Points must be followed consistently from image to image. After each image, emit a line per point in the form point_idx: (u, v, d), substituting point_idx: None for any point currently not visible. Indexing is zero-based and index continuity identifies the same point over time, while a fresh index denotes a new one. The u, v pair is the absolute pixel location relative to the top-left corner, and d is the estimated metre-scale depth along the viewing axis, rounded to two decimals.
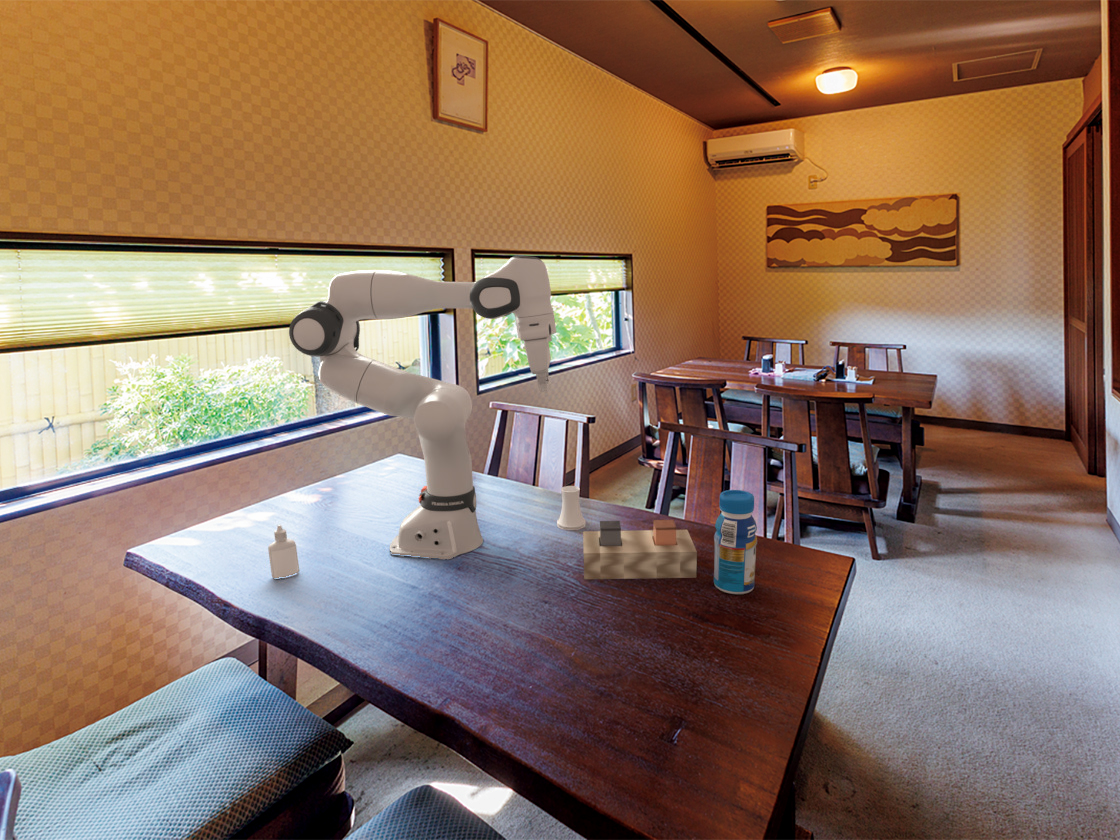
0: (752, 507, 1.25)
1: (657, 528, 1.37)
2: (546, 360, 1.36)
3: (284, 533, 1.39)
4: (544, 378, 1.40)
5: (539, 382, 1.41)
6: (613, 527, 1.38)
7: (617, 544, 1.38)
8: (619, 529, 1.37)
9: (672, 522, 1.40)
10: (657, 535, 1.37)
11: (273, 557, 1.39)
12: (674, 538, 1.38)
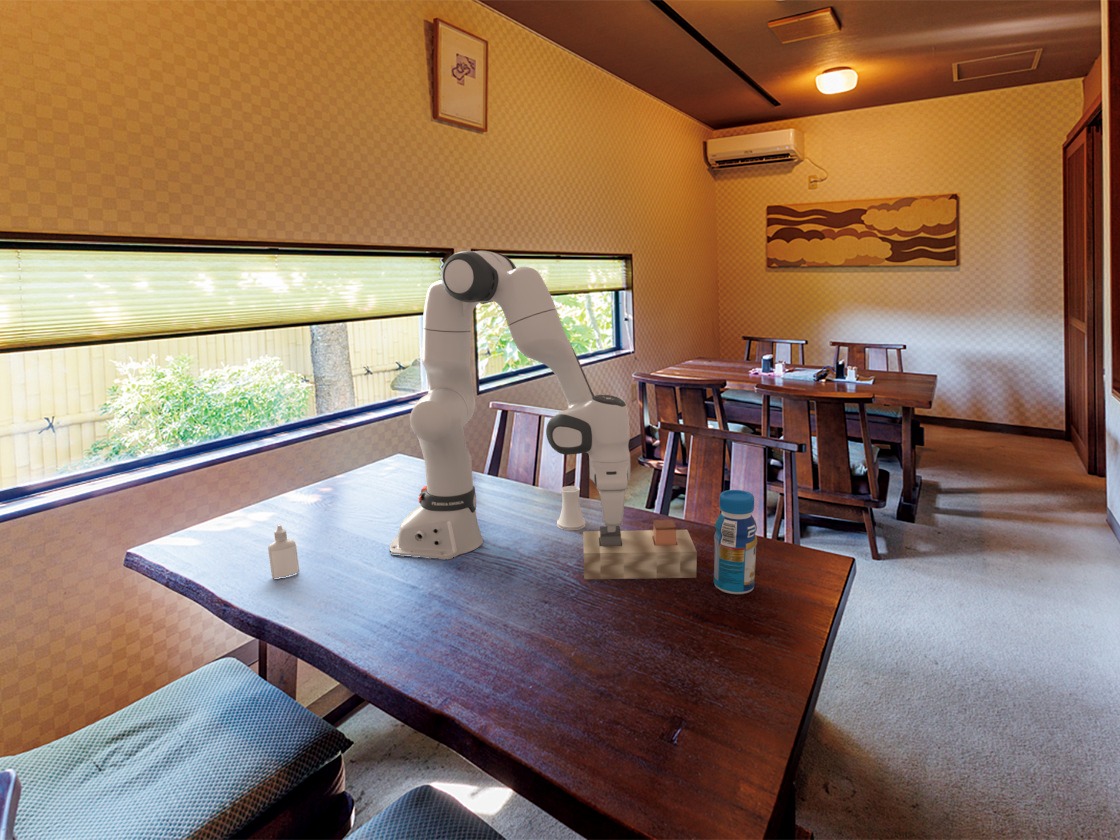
0: (752, 507, 1.25)
1: (657, 528, 1.37)
2: (622, 514, 1.29)
3: (284, 533, 1.39)
4: None
5: None
6: (613, 533, 1.38)
7: None
8: (619, 535, 1.38)
9: (672, 522, 1.40)
10: (657, 535, 1.37)
11: (273, 557, 1.39)
12: (674, 538, 1.38)
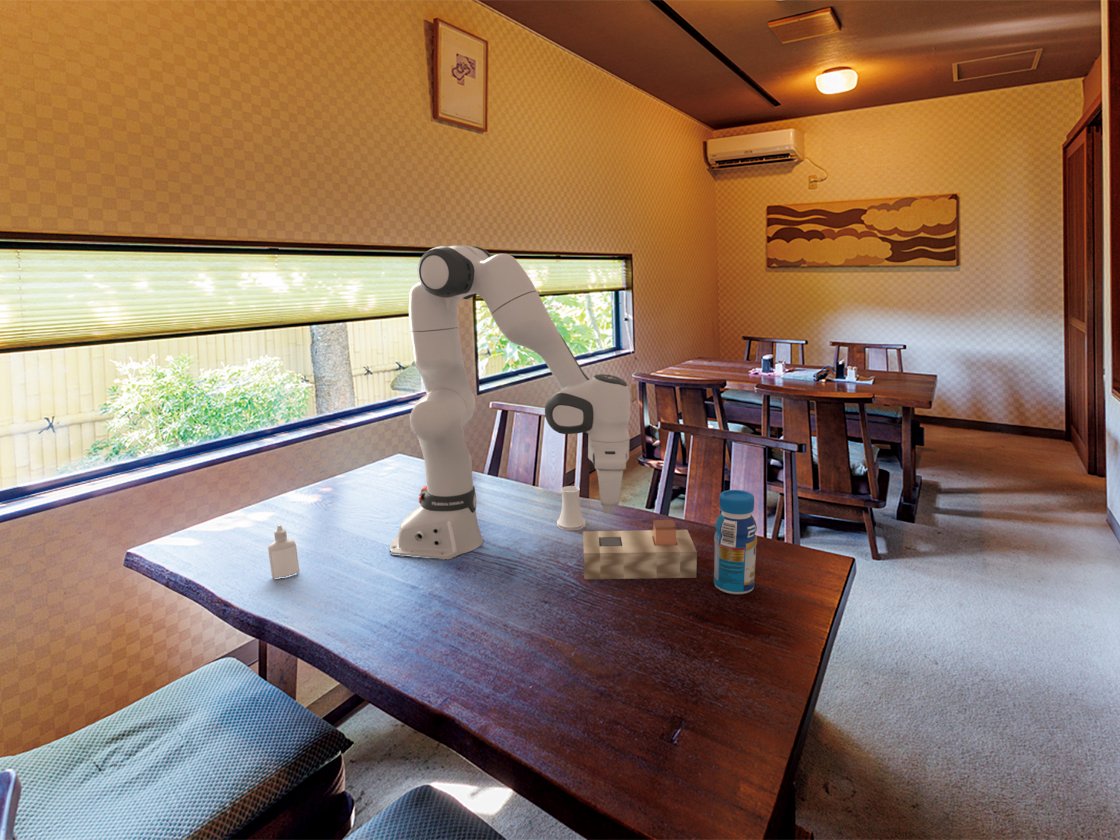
0: (752, 507, 1.25)
1: (657, 528, 1.37)
2: (619, 494, 1.28)
3: (284, 533, 1.39)
4: None
5: None
6: (613, 544, 1.39)
7: None
8: None
9: (672, 522, 1.40)
10: (657, 535, 1.37)
11: (273, 557, 1.39)
12: (674, 538, 1.38)
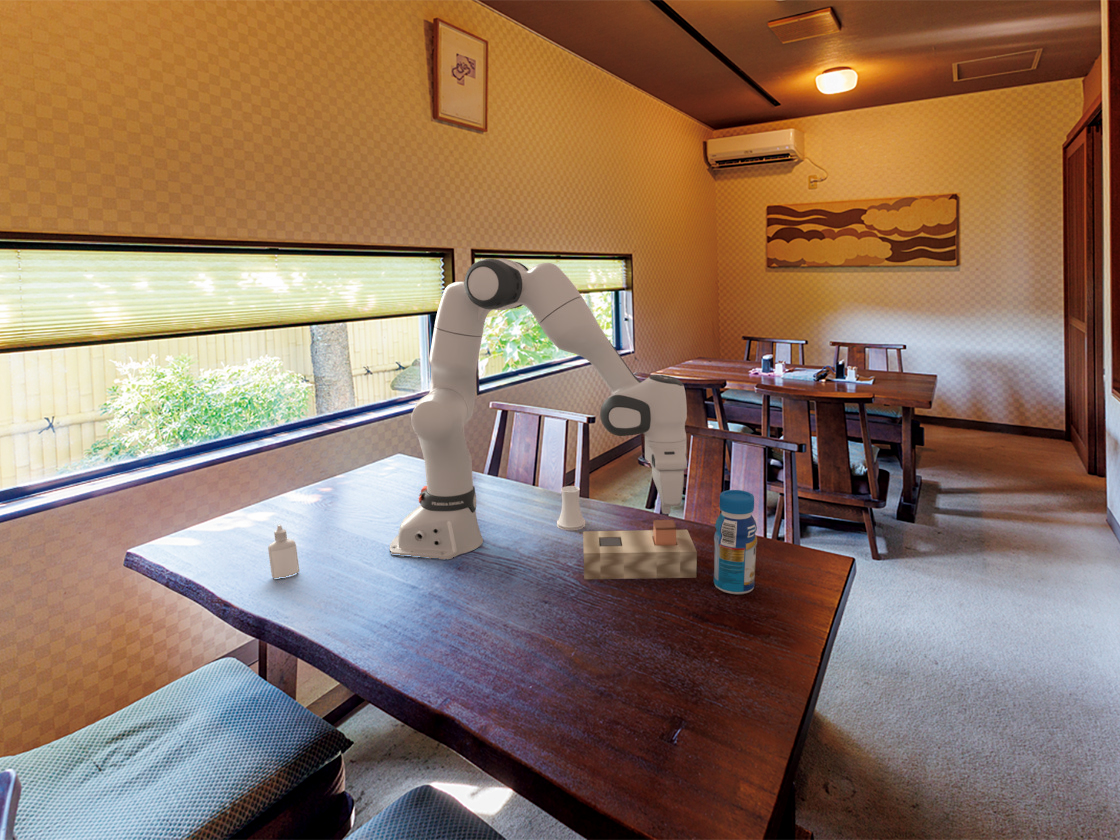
0: (752, 507, 1.25)
1: (657, 528, 1.37)
2: (681, 494, 1.27)
3: (284, 533, 1.39)
4: None
5: (663, 505, 1.36)
6: (613, 544, 1.39)
7: None
8: None
9: (672, 522, 1.40)
10: (657, 535, 1.37)
11: (273, 557, 1.39)
12: (674, 538, 1.38)
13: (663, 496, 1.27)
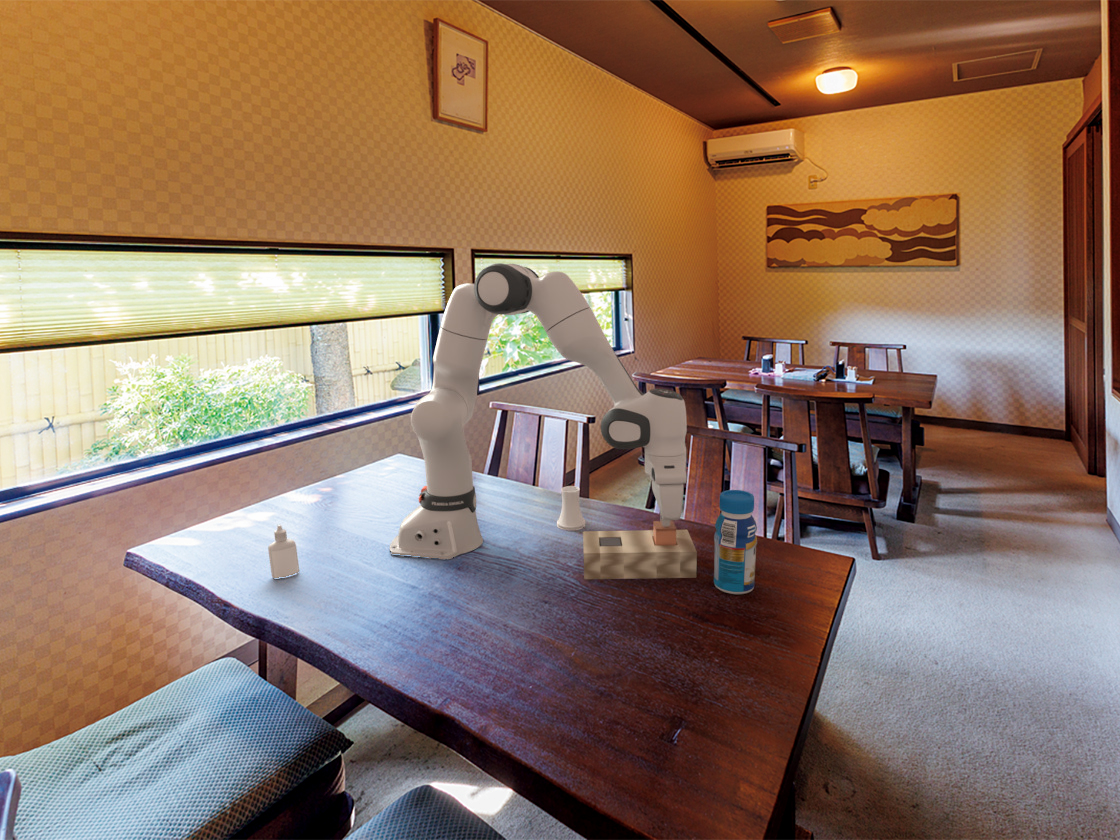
0: (752, 507, 1.25)
1: (657, 529, 1.37)
2: (681, 508, 1.28)
3: (284, 533, 1.39)
4: None
5: None
6: (613, 544, 1.39)
7: None
8: None
9: (672, 523, 1.40)
10: (657, 536, 1.38)
11: (273, 557, 1.39)
12: (674, 539, 1.38)
13: (663, 510, 1.28)
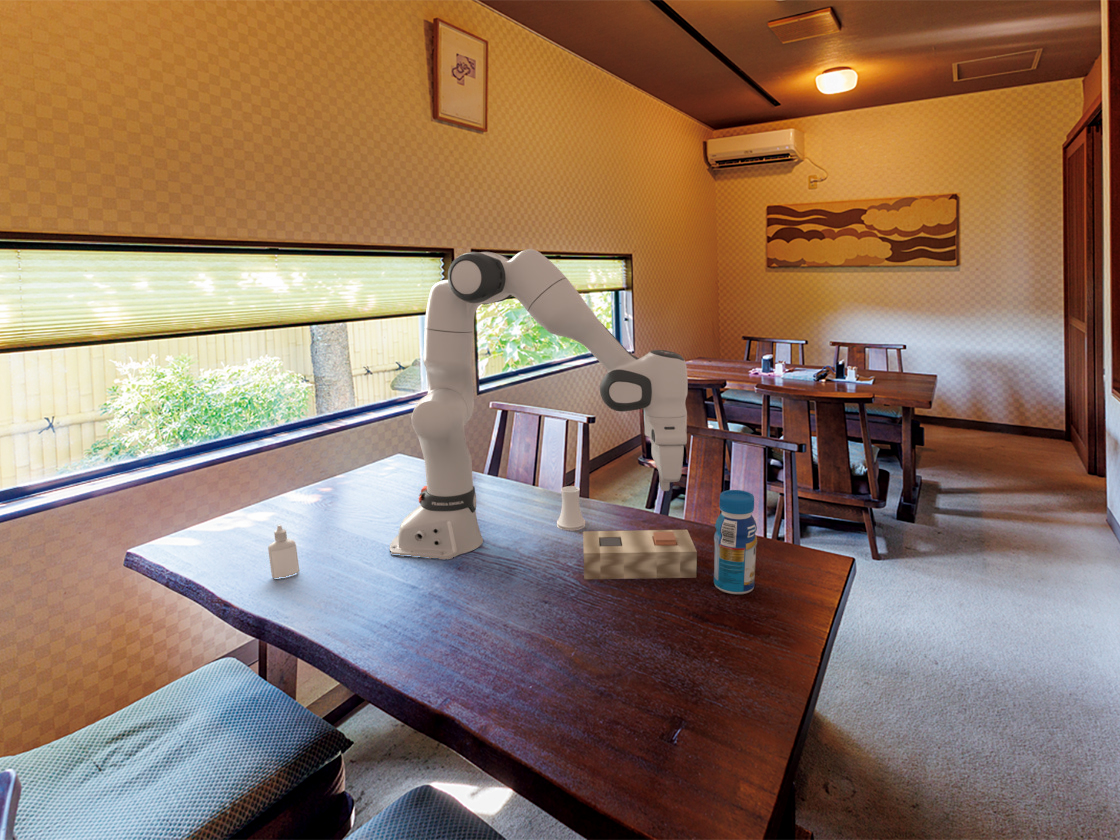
0: (752, 507, 1.25)
1: (657, 540, 1.38)
2: (681, 469, 1.26)
3: (284, 533, 1.39)
4: None
5: (662, 481, 1.35)
6: (613, 544, 1.39)
7: None
8: None
9: (672, 534, 1.41)
10: None
11: (273, 557, 1.39)
12: None
13: (662, 471, 1.26)
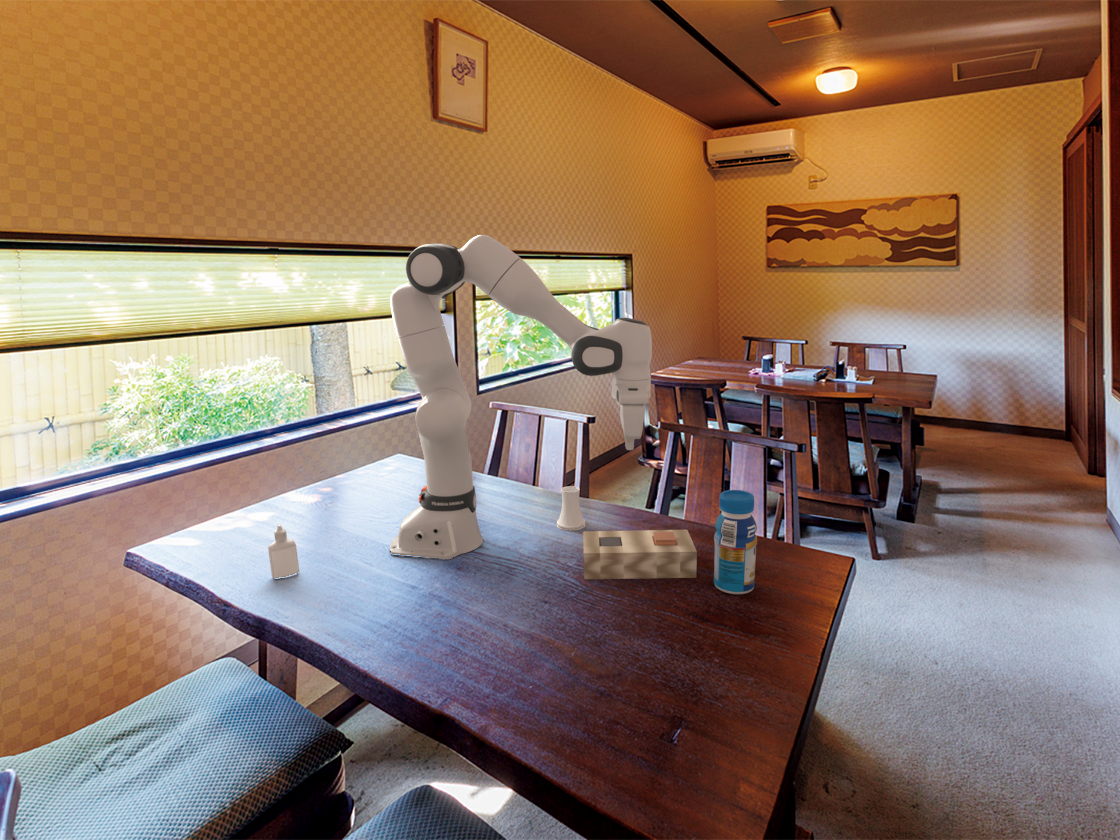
0: (752, 507, 1.25)
1: (657, 540, 1.38)
2: (641, 427, 1.36)
3: (284, 533, 1.39)
4: None
5: (627, 441, 1.45)
6: (613, 544, 1.39)
7: None
8: None
9: (672, 534, 1.41)
10: None
11: (273, 557, 1.39)
12: None
13: (624, 428, 1.36)
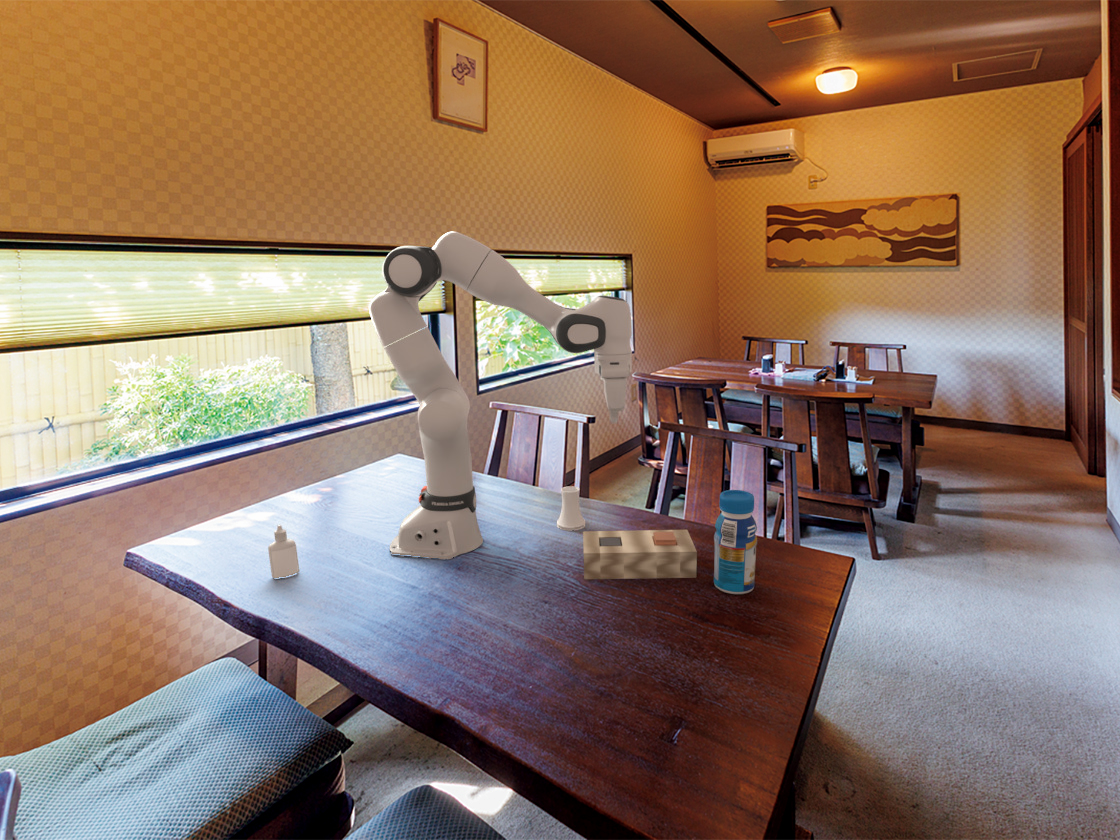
0: (752, 507, 1.25)
1: (657, 540, 1.38)
2: (624, 399, 1.42)
3: (284, 533, 1.39)
4: (616, 411, 1.50)
5: (611, 414, 1.51)
6: (613, 544, 1.39)
7: None
8: None
9: (672, 534, 1.41)
10: None
11: (273, 557, 1.39)
12: None
13: (608, 401, 1.42)
